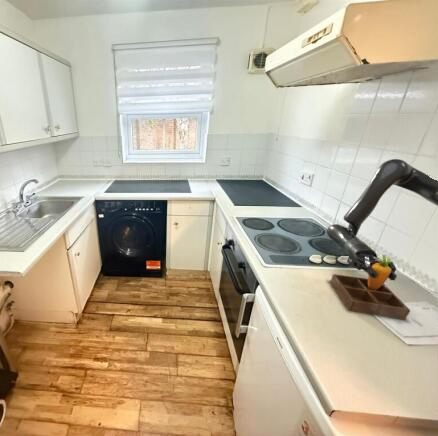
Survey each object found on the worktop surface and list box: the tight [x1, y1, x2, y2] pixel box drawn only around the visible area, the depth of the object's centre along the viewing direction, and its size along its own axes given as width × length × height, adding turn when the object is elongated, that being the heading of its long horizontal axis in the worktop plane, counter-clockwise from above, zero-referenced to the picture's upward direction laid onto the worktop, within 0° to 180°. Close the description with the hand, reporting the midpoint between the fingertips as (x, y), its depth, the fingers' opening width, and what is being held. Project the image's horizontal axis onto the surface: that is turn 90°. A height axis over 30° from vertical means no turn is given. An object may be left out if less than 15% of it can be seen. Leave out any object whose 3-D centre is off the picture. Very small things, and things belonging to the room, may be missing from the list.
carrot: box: [367, 254, 392, 291], centre depth 84 cm, size 5×5×15 cm
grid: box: [329, 273, 411, 321], centre depth 84 cm, size 15×15×4 cm
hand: (384, 276), depth 81 cm, fingers closed on carrot, 4 cm apart
